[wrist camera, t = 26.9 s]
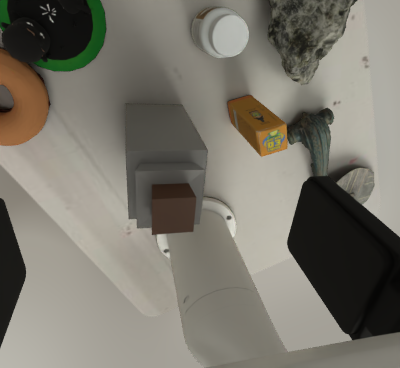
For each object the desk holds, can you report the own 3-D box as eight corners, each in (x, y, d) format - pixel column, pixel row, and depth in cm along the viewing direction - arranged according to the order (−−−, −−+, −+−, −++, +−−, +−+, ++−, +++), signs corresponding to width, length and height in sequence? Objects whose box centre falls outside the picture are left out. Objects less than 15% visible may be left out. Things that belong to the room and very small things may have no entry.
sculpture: (322, 241, 53) (345, 250, 45) (292, 198, 53) (309, 200, 45) (376, 201, 53) (409, 204, 45) (347, 159, 53) (374, 154, 45)
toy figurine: (126, 21, 31) (127, 25, 26) (65, 91, 33) (55, 106, 28) (36, -76, 26) (16, -94, 21) (-29, 14, 28) (-62, 16, 23)
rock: (282, 3, 38) (253, -48, 30) (358, -27, 34) (349, -97, 25) (290, 98, 38) (262, 73, 29) (367, 81, 33) (361, 46, 25)
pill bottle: (230, 6, 32) (256, 7, 26) (228, 50, 35) (252, 61, 28) (190, 7, 32) (206, 7, 25) (191, 52, 34) (206, 63, 27)
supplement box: (230, 125, 39) (259, 159, 31) (226, 100, 38) (255, 128, 29) (254, 118, 40) (289, 150, 31) (251, 93, 38) (287, 119, 29)
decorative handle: (277, 122, 40) (294, 136, 36) (322, 97, 40) (345, 108, 36) (304, 198, 48) (321, 217, 44) (342, 178, 48) (363, 195, 44)
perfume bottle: (179, 155, 40) (212, 246, 25) (127, 155, 39) (129, 253, 23) (182, 104, 37) (222, 175, 22) (125, 103, 35) (125, 178, 20)
